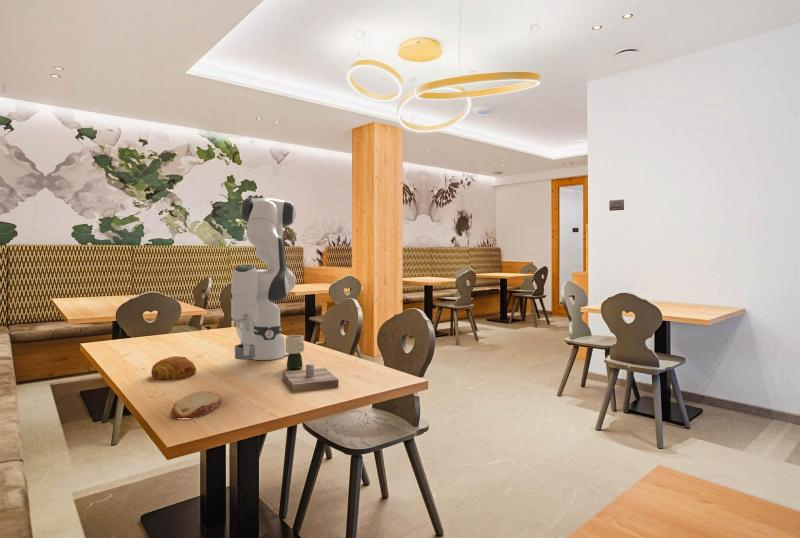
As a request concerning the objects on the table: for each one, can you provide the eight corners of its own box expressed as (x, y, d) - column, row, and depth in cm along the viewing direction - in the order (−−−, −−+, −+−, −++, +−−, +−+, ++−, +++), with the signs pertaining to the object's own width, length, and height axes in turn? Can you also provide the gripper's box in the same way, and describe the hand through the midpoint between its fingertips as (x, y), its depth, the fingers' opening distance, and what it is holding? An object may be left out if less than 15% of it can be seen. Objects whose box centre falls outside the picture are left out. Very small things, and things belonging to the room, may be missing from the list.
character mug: (310, 369, 191) (310, 336, 190) (296, 372, 185) (296, 339, 184) (293, 364, 197) (293, 333, 197) (279, 368, 192) (278, 336, 191)
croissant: (145, 383, 177) (141, 362, 176) (181, 368, 191) (178, 349, 189) (170, 387, 170) (166, 366, 169) (206, 372, 184) (203, 352, 182)
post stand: (283, 378, 176) (282, 361, 176) (324, 374, 183) (324, 357, 183) (292, 391, 160) (292, 372, 160) (338, 386, 167) (338, 368, 166)
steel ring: (234, 355, 165) (234, 344, 165) (253, 354, 167) (253, 343, 167) (235, 360, 159) (235, 348, 159) (255, 358, 162) (255, 347, 161)
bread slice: (210, 395, 157) (209, 384, 157) (238, 407, 145) (238, 395, 145) (153, 408, 144) (153, 396, 143) (180, 423, 132) (179, 410, 132)
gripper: (258, 317, 154) (258, 358, 155) (251, 308, 173) (251, 345, 174) (237, 317, 152) (237, 360, 152) (232, 309, 170) (233, 346, 171)
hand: (244, 352), depth 163 cm, fingers closed on steel ring, 6 cm apart
